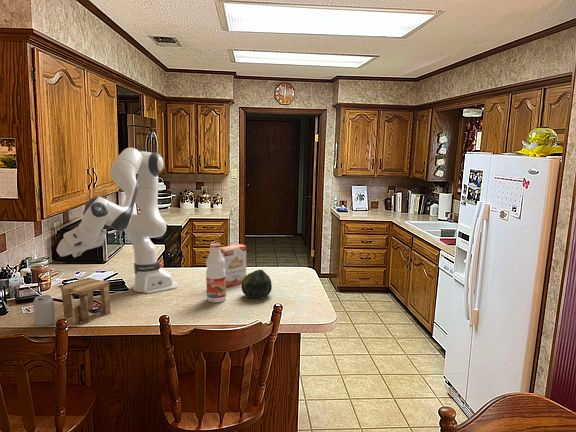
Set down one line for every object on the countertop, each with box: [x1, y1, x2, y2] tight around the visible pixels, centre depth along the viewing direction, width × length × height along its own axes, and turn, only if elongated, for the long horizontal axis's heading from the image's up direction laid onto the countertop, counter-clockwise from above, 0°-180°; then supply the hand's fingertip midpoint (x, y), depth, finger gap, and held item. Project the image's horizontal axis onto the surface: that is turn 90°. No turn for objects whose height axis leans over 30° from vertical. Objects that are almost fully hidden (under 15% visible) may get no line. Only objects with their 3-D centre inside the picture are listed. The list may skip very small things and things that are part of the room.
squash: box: [241, 269, 273, 299], centre depth 219 cm, size 14×15×15 cm
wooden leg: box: [78, 295, 104, 324], centre depth 191 cm, size 10×3×12 cm, turn 153°
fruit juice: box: [205, 242, 227, 304], centre depth 214 cm, size 9×9×28 cm
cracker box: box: [220, 243, 247, 288], centre depth 238 cm, size 14×6×21 cm, turn 129°
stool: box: [60, 277, 112, 325], centre depth 194 cm, size 14×16×14 cm
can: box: [32, 294, 56, 328], centre depth 186 cm, size 8×8×12 cm
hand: (76, 255), depth 190 cm, fingers closed
